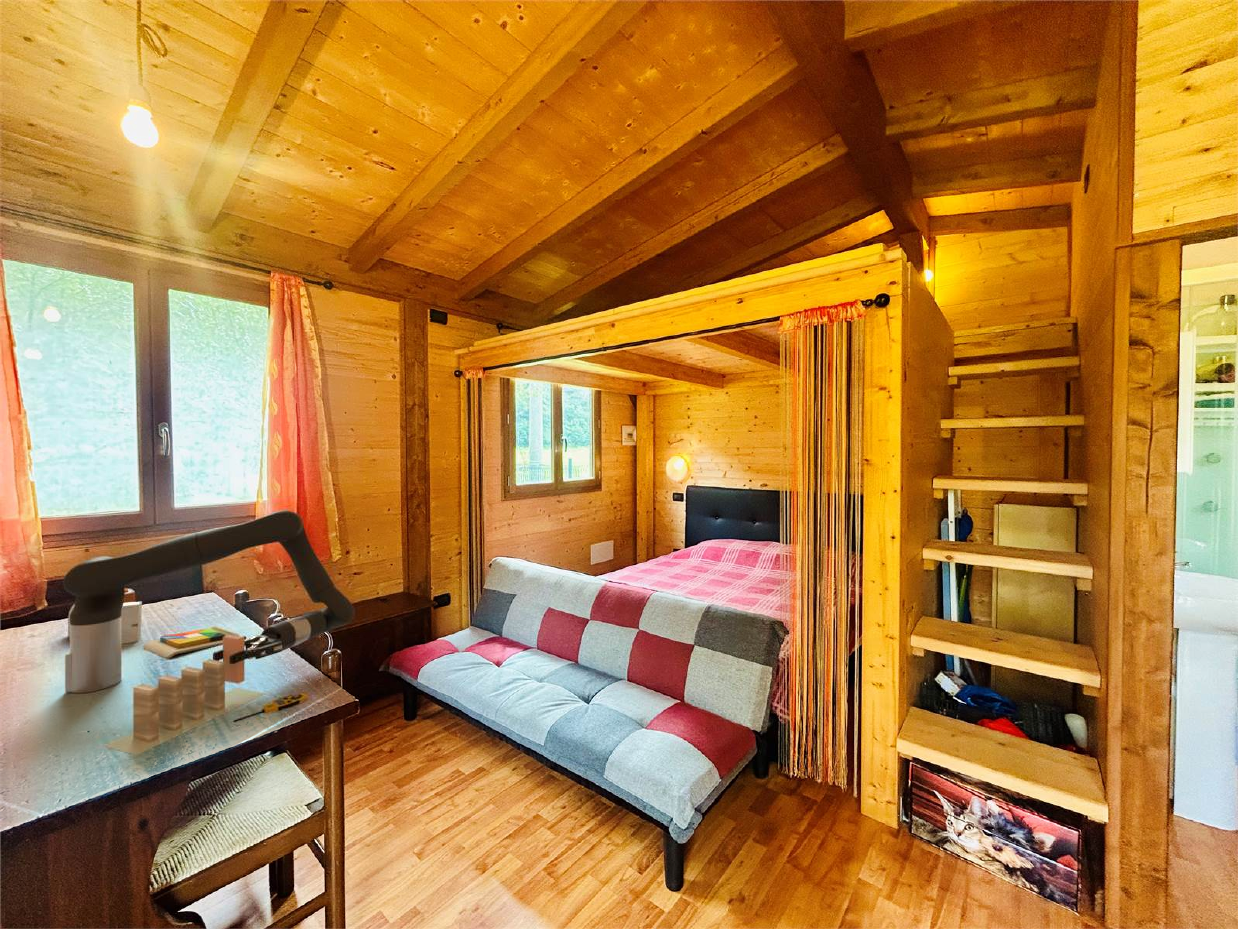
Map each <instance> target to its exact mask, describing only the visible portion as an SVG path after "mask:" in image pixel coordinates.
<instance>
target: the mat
mask: <svg viewBox="0 0 1238 929" xmlns="http://www.w3.org/2000/svg"><path fill="white" fill-rule="evenodd" d="M264 695H266V692H261V691H255V690H251V689H245V688H242V687H241V688H240V687H235V688H231V690H228V691H225V708H223V709H221V710H219V711H216V710H212V709H207V708H204V718H201V719H199V720H197V721H196V720H192V719H188V718H183V717H182V728H180V729H178V730H176V731H172V730H167V729H163V728H159V738H158V739H156V740H154V741H152V742H150V743H149V742H146V741H142V740H138V739H134V738H133V732H132V733H129V734H128V735H127V734H126V735H125V736H123V737H121V738H118V739H116V740H113V741H112V742H111V741H110V743H109V742H108V743H107V744H105V745H103V747H105V748H108V749H111V750H116V751H119V752H123V753H128V754H132V755H135V756H138V755H141V754H142V753H144V752H146V751H148V750H150V749H153V748H155V747H157V746H159V745H160V744H163V743H165V742H167V741H169V740H172V739H174V738H176V737H177V736H180V735H183V734H184V733H186V732H188V731H190V730H192V729H194V728H197V727H199V726H201V725H203V724H205V723H208V722H209V721H212V720H213V719H215V718H217V717H219V716H221V715H225V714H227V713H229V712H231V711H233V710H235V709H237V708H238V707H241V706H243V705H245V704H247V703H249V702H252V701H253V700H255V699H258V698H259V697H262V696H264Z"/></svg>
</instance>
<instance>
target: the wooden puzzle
mask: <svg viewBox="0 0 1238 929" xmlns="http://www.w3.org/2000/svg"><path fill="white" fill-rule="evenodd" d="M227 635H235V636H240V634H238V633H237V632H233V631H231V630H228V629H225V628H222V627H218V626H215V625H213V626H211V628H208V627H206V628H201V629H195V630H191V631H185V632H178V633H172V634H165V635H162V636H160V639H154V640H150V641H147V642H145V644H144V645H143V647H142V649H143V650H145V651H147V650H148V651H147V652H149V651H150V653H151V652H152V654H154V655H156V654H157V655H156V656H158V657H161V658H163V657H164V658H163V659H165V658H166V659H165V660H168V658H169V659H171V658H172V657H174V656H175V655H179V654H184V653H187V652H193V651H198V650H202V649H206V648H207V649H208V648H212V647H216V645H217V646H220V645H219V644H221V645H223V637H224V636H227Z"/></svg>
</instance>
